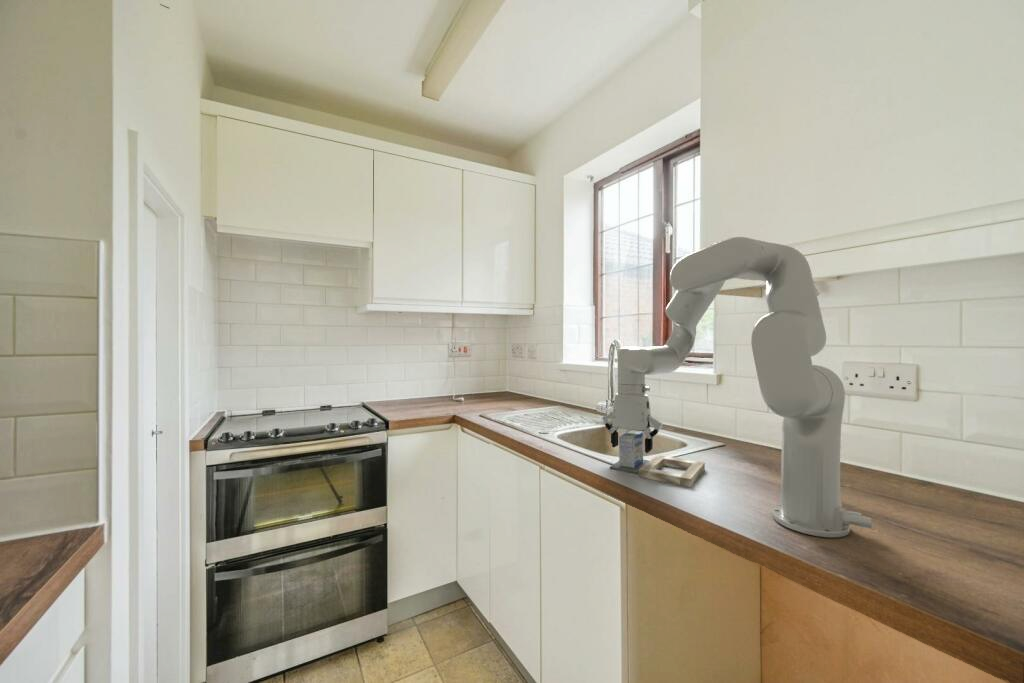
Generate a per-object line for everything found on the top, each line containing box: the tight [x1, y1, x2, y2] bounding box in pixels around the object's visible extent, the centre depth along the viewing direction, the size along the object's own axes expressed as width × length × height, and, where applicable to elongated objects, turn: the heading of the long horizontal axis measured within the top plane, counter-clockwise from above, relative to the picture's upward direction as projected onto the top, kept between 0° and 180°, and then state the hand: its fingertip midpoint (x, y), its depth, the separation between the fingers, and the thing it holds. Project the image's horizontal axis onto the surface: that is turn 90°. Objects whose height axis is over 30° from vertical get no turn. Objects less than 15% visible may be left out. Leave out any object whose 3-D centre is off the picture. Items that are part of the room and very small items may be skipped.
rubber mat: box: [609, 459, 650, 475], centre depth 120 cm, size 8×12×1 cm, turn 144°
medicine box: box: [618, 430, 644, 468], centre depth 120 cm, size 8×4×9 cm, turn 144°
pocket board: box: [638, 454, 706, 488], centre depth 113 cm, size 13×16×2 cm
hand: (631, 448), depth 120 cm, fingers open, 9 cm apart
